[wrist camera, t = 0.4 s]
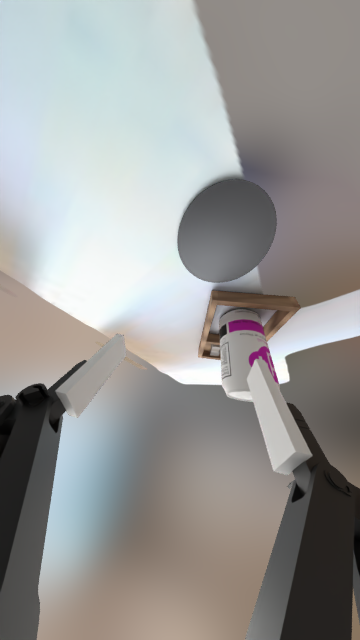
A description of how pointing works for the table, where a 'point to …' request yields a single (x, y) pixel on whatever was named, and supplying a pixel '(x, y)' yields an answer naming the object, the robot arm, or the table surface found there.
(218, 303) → the parts tray
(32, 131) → the table surface
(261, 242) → the coaster
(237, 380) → the supplement can
